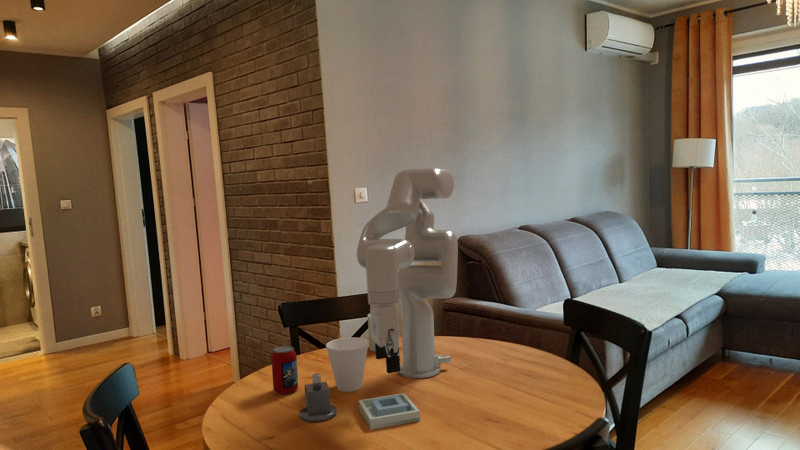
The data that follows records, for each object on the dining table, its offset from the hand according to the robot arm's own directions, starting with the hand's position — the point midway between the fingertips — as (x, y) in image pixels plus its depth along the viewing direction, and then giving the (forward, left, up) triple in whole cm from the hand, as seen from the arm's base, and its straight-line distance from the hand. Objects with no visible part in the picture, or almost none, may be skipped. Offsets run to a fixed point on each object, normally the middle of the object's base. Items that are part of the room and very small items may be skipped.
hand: (387, 364), depth 134 cm
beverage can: (+23, -25, -12) cm, 36 cm away
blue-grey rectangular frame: (+1, +1, -11) cm, 11 cm away
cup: (+6, -21, -12) cm, 25 cm away
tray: (+1, +1, -12) cm, 12 cm away
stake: (+17, -6, -12) cm, 21 cm away
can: (-12, -52, -12) cm, 55 cm away
